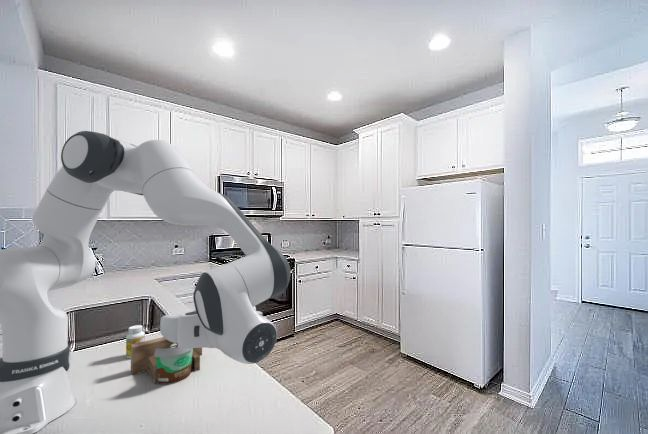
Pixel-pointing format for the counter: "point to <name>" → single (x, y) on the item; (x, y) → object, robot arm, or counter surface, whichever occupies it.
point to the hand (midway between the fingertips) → (199, 312)
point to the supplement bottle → (134, 338)
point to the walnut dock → (147, 362)
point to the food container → (173, 363)
